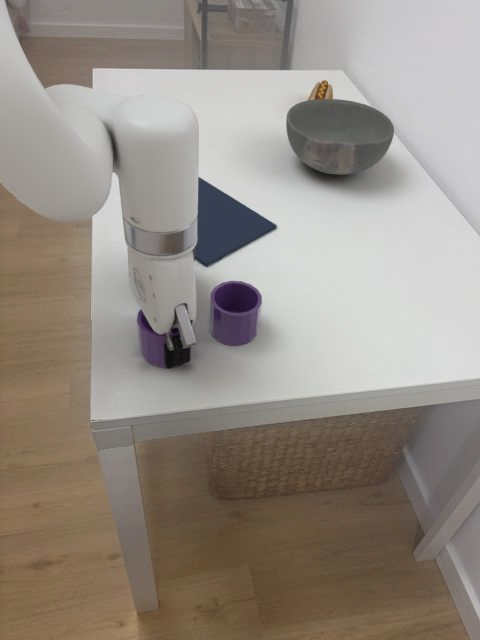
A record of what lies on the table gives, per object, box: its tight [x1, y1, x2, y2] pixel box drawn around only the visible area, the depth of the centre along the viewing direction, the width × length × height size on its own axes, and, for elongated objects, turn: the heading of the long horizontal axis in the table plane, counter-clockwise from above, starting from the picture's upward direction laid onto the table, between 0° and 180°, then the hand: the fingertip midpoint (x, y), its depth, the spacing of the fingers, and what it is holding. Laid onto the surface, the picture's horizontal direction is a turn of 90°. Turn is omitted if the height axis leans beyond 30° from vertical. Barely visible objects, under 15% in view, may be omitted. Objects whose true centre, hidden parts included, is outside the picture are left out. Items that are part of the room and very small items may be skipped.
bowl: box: [285, 98, 395, 176], centre depth 101 cm, size 20×20×10 cm
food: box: [307, 79, 334, 101], centre depth 120 cm, size 14×6×5 cm, turn 169°
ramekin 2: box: [209, 280, 263, 347], centre depth 70 cm, size 7×7×6 cm
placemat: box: [195, 176, 278, 267], centre depth 88 cm, size 20×16×1 cm
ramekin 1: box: [136, 308, 194, 368], centre depth 66 cm, size 7×7×6 cm
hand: (166, 343), depth 67 cm, fingers closed on ramekin 1, 6 cm apart
